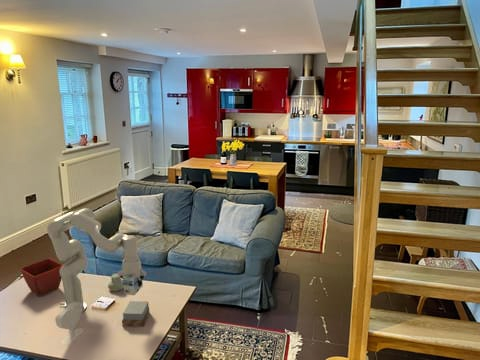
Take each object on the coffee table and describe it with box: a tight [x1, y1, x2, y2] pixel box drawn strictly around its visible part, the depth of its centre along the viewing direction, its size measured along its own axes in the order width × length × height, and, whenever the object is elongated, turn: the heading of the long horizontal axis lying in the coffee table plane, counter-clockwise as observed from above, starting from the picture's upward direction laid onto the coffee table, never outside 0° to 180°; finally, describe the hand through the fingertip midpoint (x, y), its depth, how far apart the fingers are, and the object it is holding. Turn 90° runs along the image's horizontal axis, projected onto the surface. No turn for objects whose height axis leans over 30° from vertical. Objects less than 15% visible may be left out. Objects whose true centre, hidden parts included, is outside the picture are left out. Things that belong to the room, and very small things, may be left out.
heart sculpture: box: [55, 302, 84, 346], centre depth 194 cm, size 16×5×18 cm, turn 163°
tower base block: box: [121, 307, 150, 328], centre depth 209 cm, size 12×13×4 cm
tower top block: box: [122, 300, 150, 320], centre depth 209 cm, size 11×12×4 cm
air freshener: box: [107, 273, 124, 292], centre depth 241 cm, size 11×8×10 cm
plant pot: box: [20, 257, 64, 297], centre depth 239 cm, size 19×19×17 cm
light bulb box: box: [122, 273, 143, 296], centre depth 204 cm, size 11×7×11 cm, turn 170°
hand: (133, 285), depth 205 cm, fingers closed on light bulb box, 7 cm apart
